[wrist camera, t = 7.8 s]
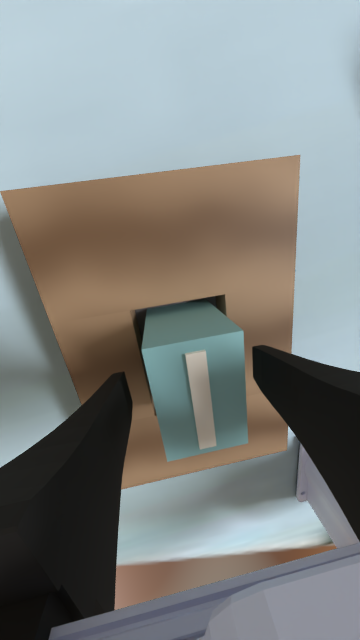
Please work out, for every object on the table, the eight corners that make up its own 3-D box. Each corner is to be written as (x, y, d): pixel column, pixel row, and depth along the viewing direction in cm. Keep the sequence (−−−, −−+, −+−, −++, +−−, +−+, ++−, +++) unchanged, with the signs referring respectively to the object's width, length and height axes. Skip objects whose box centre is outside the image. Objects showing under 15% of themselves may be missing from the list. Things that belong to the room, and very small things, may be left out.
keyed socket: (269, 425, 18) (286, 450, 16) (120, 459, 17) (114, 491, 15) (271, 174, 12) (300, 154, 10) (33, 205, 11) (0, 191, 9)
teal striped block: (213, 373, 15) (249, 445, 9) (162, 384, 15) (167, 464, 9) (205, 298, 13) (244, 331, 8) (146, 309, 13) (141, 351, 7)
